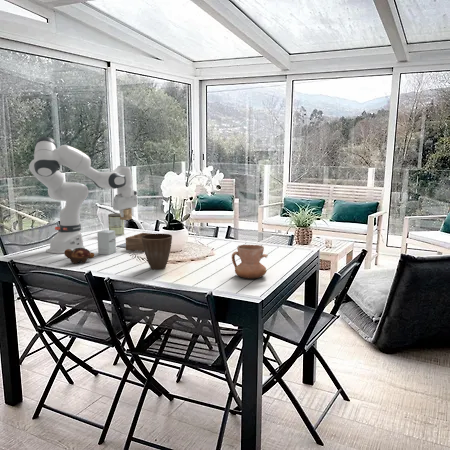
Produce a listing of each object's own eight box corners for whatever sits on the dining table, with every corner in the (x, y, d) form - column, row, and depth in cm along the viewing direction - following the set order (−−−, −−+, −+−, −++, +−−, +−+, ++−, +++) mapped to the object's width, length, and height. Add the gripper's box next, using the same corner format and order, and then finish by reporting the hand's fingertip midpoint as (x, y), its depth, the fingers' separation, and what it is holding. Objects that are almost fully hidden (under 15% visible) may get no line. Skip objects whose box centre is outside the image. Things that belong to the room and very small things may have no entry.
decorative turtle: (61, 263, 233) (61, 247, 233) (89, 260, 243) (89, 245, 242) (68, 265, 226) (68, 250, 225) (97, 263, 236) (97, 247, 235)
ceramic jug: (273, 275, 211) (273, 245, 209) (260, 282, 198) (260, 251, 196) (239, 270, 220) (239, 242, 218) (224, 277, 207) (224, 247, 205)
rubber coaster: (128, 248, 268) (128, 247, 268) (116, 246, 272) (116, 245, 272) (137, 245, 277) (137, 244, 276) (125, 243, 280) (125, 242, 280)
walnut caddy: (146, 251, 259) (146, 239, 257) (125, 249, 264) (125, 237, 263) (162, 245, 275) (162, 234, 274) (142, 243, 280) (142, 232, 279)
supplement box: (109, 255, 251) (108, 232, 249) (97, 254, 254) (96, 231, 251) (116, 252, 258) (115, 230, 256) (105, 251, 260) (104, 229, 258)
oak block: (127, 220, 268) (126, 210, 267) (120, 219, 270) (119, 209, 269) (131, 218, 273) (131, 208, 272) (125, 218, 275) (124, 208, 274)
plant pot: (144, 272, 215) (143, 240, 212) (140, 265, 229) (139, 234, 226) (175, 270, 219) (174, 238, 216) (170, 263, 233) (169, 232, 231)
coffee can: (106, 234, 311) (105, 214, 308) (120, 232, 317) (119, 212, 315) (113, 236, 303) (112, 215, 301) (127, 234, 309) (126, 214, 307)
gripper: (118, 195, 258) (120, 219, 260) (138, 191, 277) (139, 214, 279) (109, 194, 260) (110, 218, 263) (130, 191, 279) (131, 213, 281)
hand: (125, 216), depth 271 cm, fingers closed on oak block, 5 cm apart
